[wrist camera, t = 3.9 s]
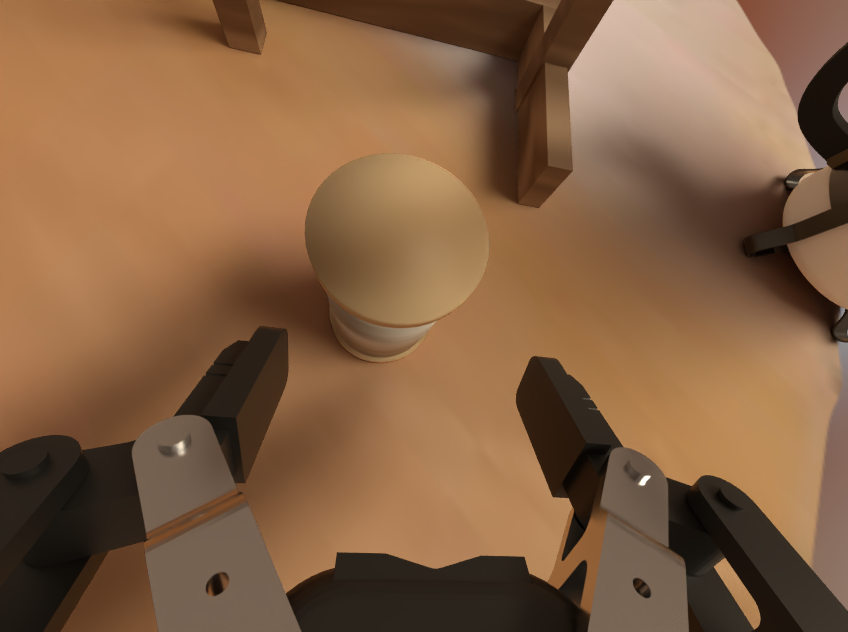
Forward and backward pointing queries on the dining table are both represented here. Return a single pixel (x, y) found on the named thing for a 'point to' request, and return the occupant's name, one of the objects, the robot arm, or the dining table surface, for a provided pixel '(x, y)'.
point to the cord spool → (394, 251)
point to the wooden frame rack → (487, 32)
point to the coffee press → (818, 195)
